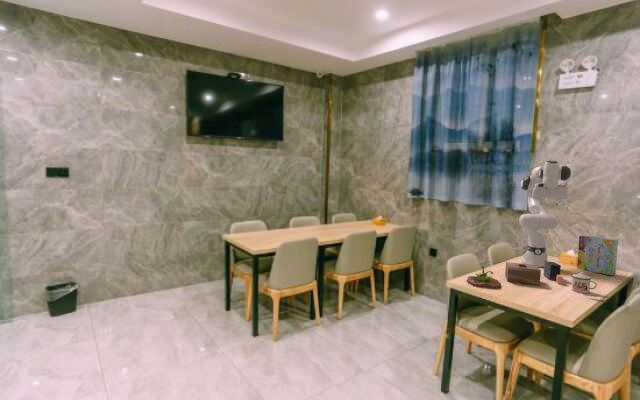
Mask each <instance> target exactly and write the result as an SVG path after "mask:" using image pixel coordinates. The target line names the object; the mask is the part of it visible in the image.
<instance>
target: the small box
mask: <svg viewBox="0 0 640 400" xmlns="http://www.w3.org/2000/svg"><path fill="white" fill-rule="evenodd" d="M561 267H562V266H561V264H559V263H557V262H555V261H549V260H548V261H545V262H544V267H543V275H544V277H545V278H547V280H548V281H556V277H557V275H561Z"/></svg>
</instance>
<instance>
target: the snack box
mask: <svg viewBox="0 0 640 400" xmlns="http://www.w3.org/2000/svg"><path fill="white" fill-rule="evenodd" d="M618 246H619V239H618V238H612V237H606V236H605V237H602V236H594V235H585V234H584V235H583V234H581V235H579V236H578V247H577V248H578V249H577V251H578V253H577V264H576V265H577V266H576V269H578V270H582V271H586V272H591V273H597V274H602V275H607V276H614V275H616V272H617V259H618Z"/></svg>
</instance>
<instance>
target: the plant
mask: <svg viewBox="0 0 640 400" xmlns="http://www.w3.org/2000/svg"><path fill="white" fill-rule="evenodd" d="M481 270H482V272H481V273H480V272H479V273H476V272H475V273H474V274H475V275H469V276H467V279H466V280H465V281H467V282H466V283H467V284H469V283H470V286H472V285H473V286H472V287H475V286H476V288H484V289H491V290H498V289H501V288H502V283H501V282H500V281H499V280H498V279H496V278H494V277H493V275H494V272H493V271H491V270H490V271H489V270H488V271H486V272H485V266H484V265H482V266H481ZM488 273H490V274H491V275H489V274H488Z"/></svg>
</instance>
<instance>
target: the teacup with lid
mask: <svg viewBox="0 0 640 400" xmlns="http://www.w3.org/2000/svg"><path fill="white" fill-rule="evenodd" d="M571 277H572V278H571V279H572V281H571V284H572V285H571V290H572V292H576V293H578V294H590V290H595V289H596V288H597V286H598V284H597V282H595V281H594V280H591V279H592V277H591V276H588V275H587V274H585V272H583V271H580V272H579V273H574V274H573V275H572V276H571ZM591 283H593V284H594V285H595V286H594V287H591Z"/></svg>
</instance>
